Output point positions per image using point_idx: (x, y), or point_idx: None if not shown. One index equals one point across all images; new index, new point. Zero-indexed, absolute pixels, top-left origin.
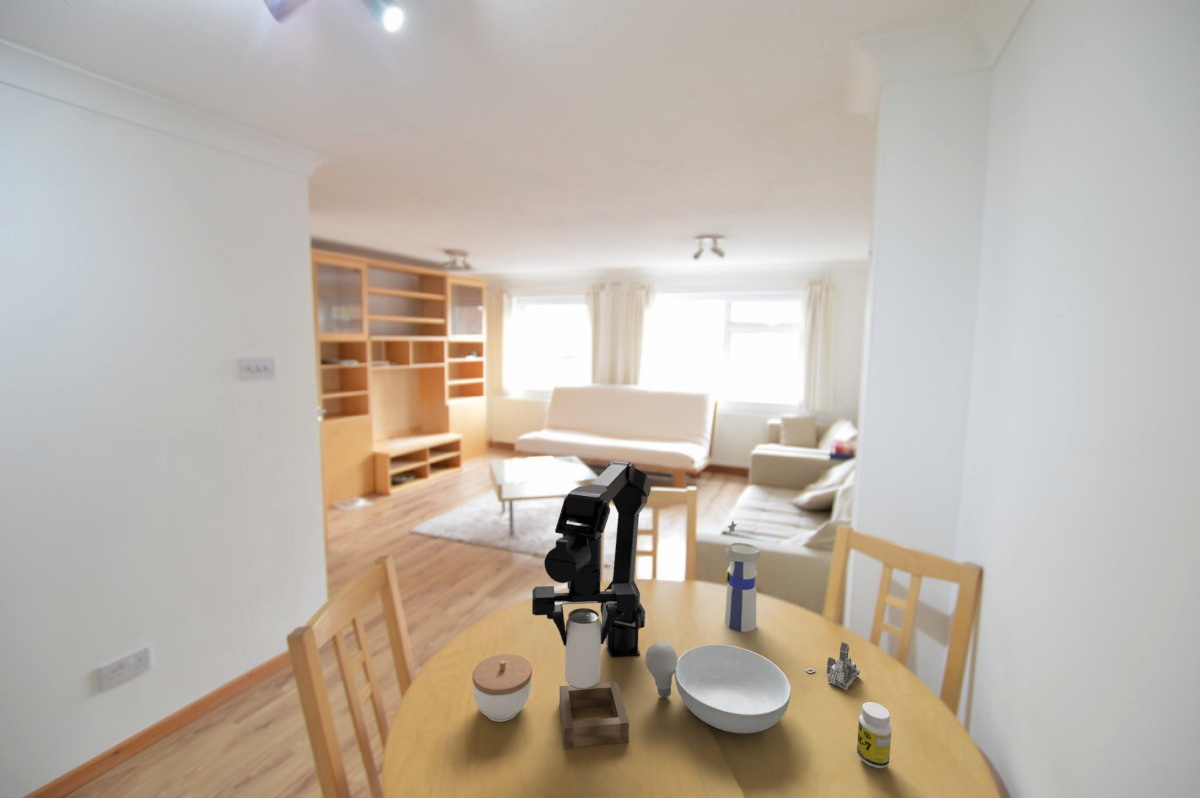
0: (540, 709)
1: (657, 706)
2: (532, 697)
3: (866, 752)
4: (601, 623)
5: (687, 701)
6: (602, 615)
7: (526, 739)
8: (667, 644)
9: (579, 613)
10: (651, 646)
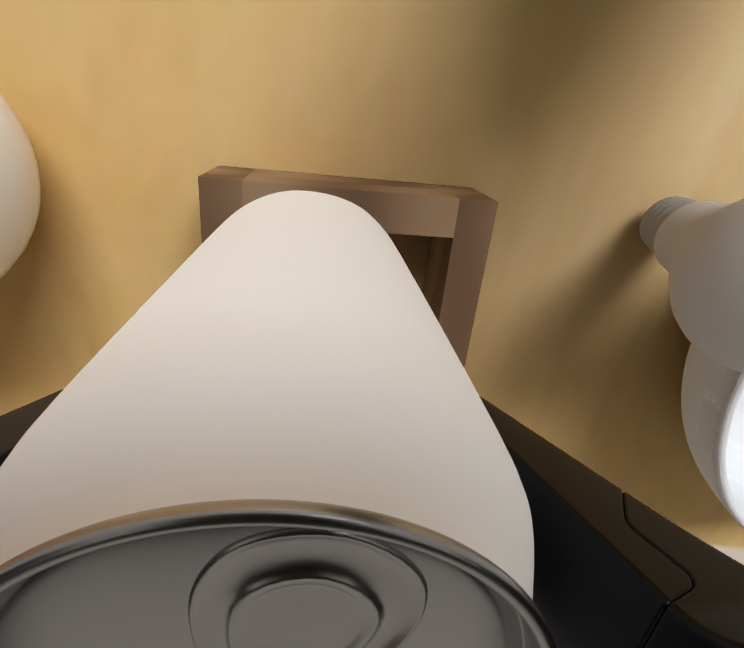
0: (132, 184)
1: (600, 262)
2: (82, 86)
3: None
4: (540, 491)
5: (693, 423)
6: (621, 569)
7: (92, 332)
8: None
9: (183, 609)
10: None
